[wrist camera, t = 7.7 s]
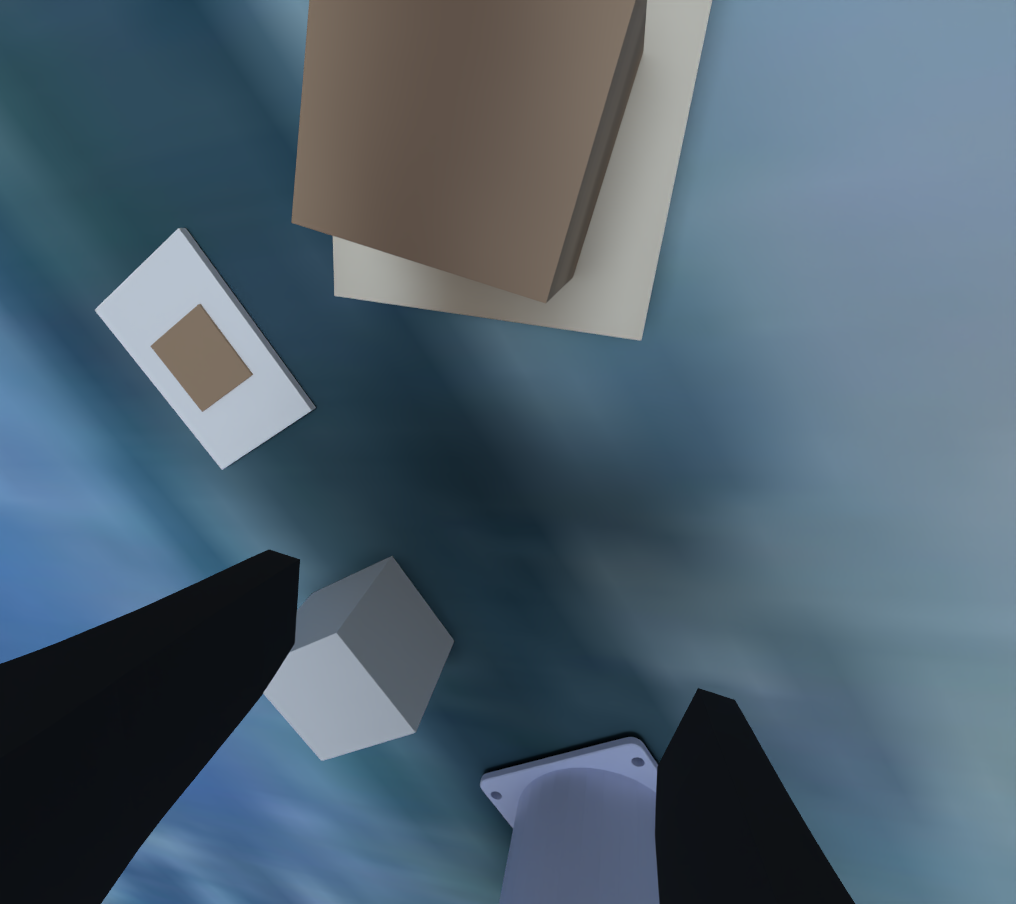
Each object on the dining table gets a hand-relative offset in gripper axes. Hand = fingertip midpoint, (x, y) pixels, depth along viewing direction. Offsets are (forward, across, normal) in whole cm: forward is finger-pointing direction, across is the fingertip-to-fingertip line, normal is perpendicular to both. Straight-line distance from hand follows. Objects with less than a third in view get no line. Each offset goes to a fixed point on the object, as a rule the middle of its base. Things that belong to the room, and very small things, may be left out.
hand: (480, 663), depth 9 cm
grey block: (+10, +5, +9) cm, 14 cm away
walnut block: (+6, +3, -8) cm, 11 cm away
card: (+9, +13, 0) cm, 16 cm away
